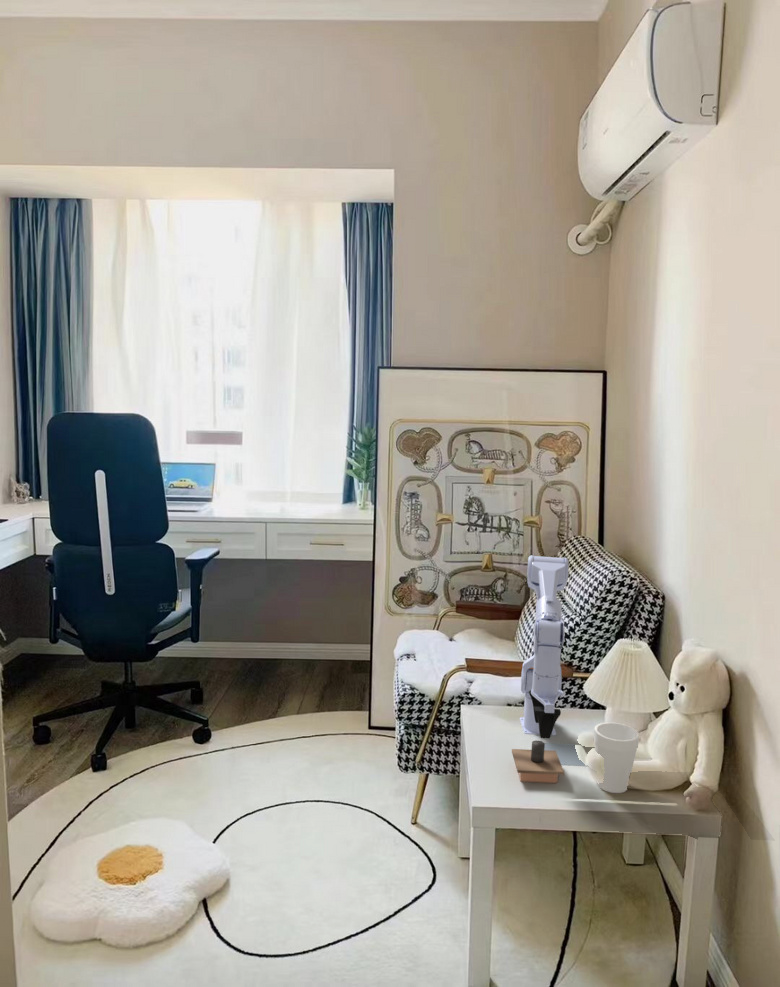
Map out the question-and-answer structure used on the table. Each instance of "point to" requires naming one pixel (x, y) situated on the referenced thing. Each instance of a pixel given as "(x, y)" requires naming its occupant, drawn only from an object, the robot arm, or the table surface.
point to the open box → (538, 777)
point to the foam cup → (616, 753)
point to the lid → (537, 760)
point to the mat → (565, 753)
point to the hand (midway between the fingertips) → (542, 730)
